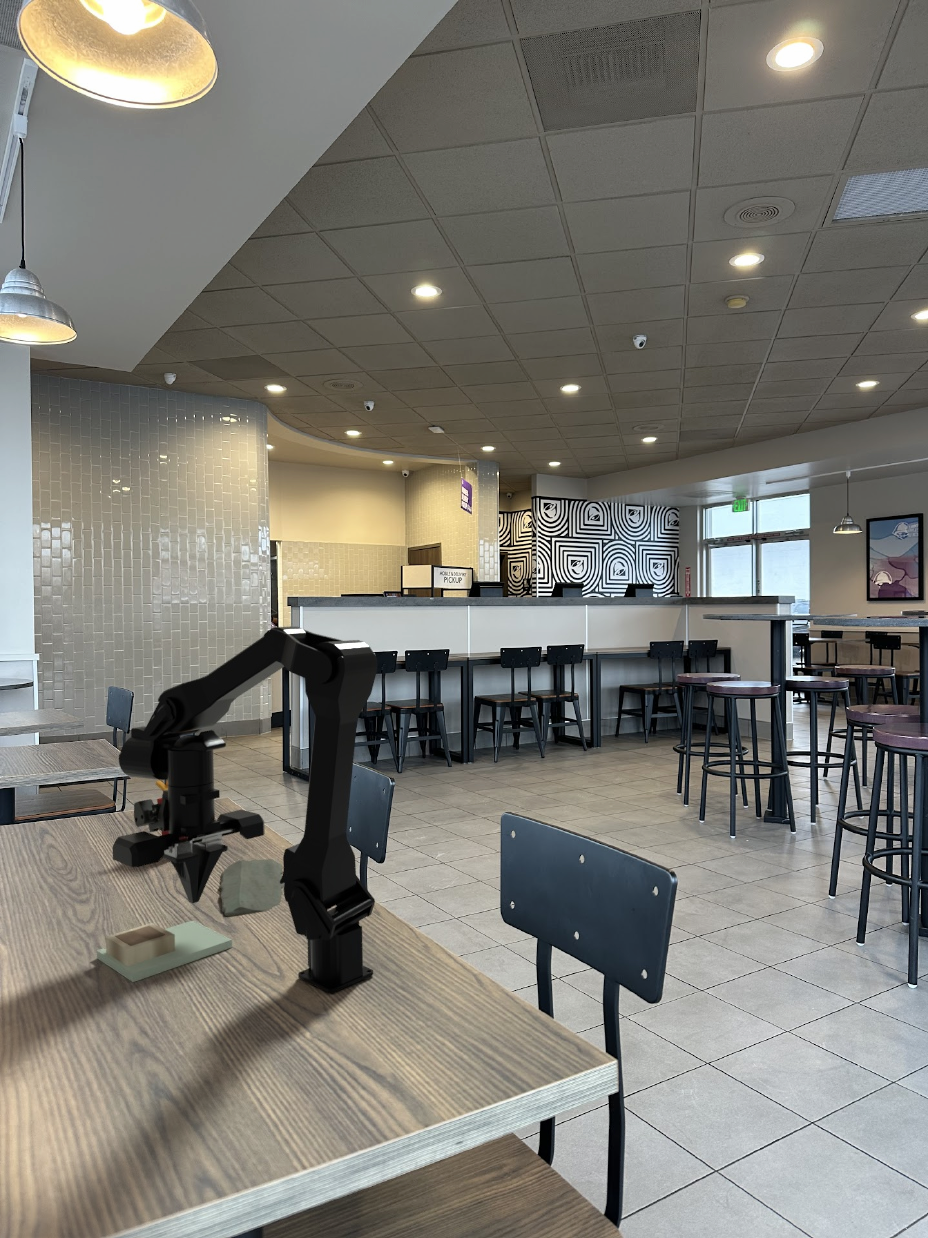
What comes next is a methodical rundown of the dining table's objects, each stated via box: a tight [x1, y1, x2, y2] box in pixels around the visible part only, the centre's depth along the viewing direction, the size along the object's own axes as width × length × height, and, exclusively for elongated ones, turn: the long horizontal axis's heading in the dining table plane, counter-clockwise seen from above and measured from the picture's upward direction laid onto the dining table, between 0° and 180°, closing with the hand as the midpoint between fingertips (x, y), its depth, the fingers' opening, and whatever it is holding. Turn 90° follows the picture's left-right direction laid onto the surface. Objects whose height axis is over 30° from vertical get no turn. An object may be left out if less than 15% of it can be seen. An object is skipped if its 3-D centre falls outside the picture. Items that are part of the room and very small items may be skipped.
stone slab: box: [219, 858, 284, 918], centre depth 127 cm, size 22×3×10 cm
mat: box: [96, 920, 233, 983], centre depth 103 cm, size 10×13×1 cm
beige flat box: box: [105, 922, 175, 967], centre depth 101 cm, size 6×2×6 cm
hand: (193, 902), depth 106 cm, fingers closed
